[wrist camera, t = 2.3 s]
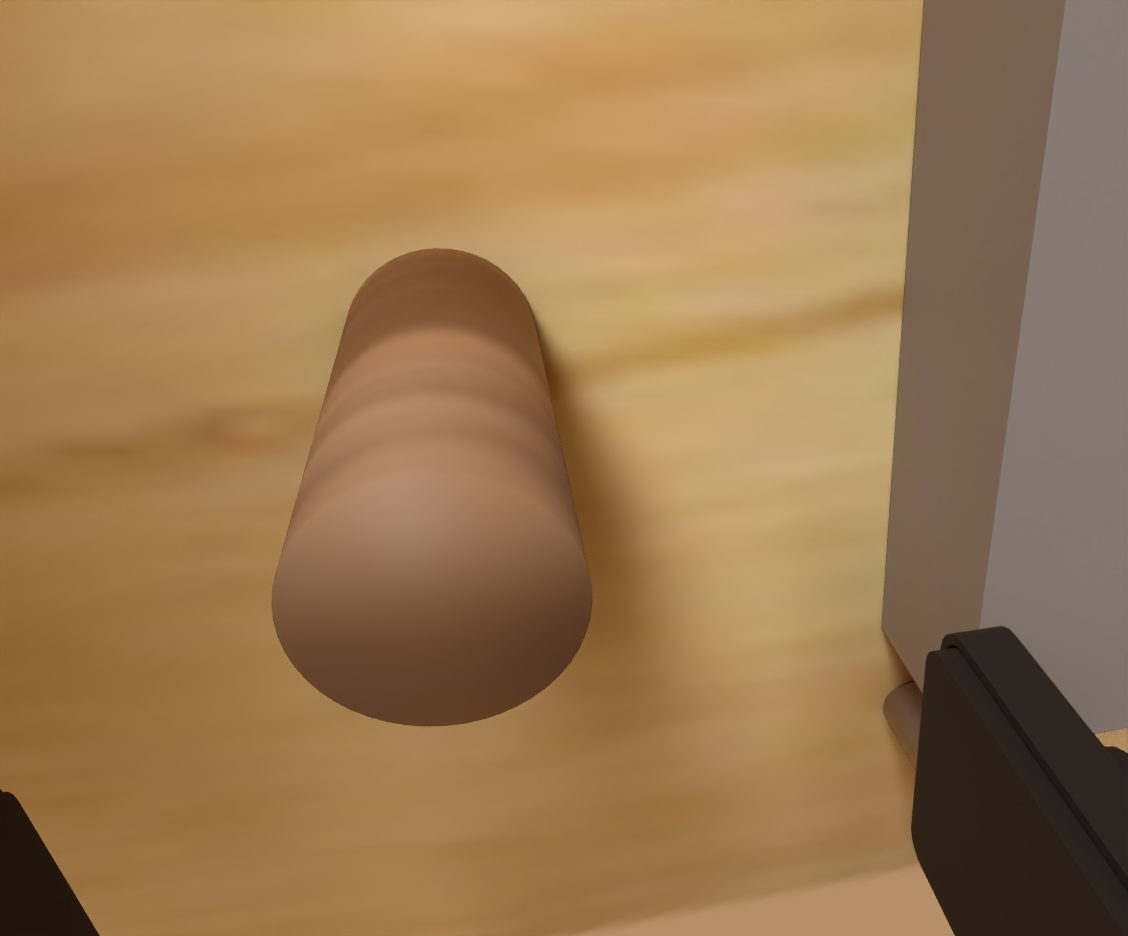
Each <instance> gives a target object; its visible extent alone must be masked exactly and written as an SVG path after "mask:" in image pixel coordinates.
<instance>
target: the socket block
mask: <svg viewBox="0 0 1128 936" xmlns="http://www.w3.org/2000/svg"><path fill="white" fill-rule="evenodd" d="M997 626H1004V627H1006V628H1009V629H1010V630H1011V631H1012V632H1013V633H1014V634H1015V635H1016V636H1017V638H1018V639H1019V640H1020V641H1021V643H1022V644H1023V645H1024V646H1025V648H1026V649H1027V650H1028V651H1029V653H1030V654H1031V655H1032V656H1033V658H1034V659H1035V660H1036V661H1037V663H1038V664H1039V665H1040V667H1041V668H1042V669H1043V670H1044V672H1045V673H1046V674H1047V675H1048V677H1049V678H1050V679H1051V680H1052V682H1053V683H1054V684H1055V685H1056V687H1057V688H1058V689H1059V690H1060V692H1061V693H1062V694H1063V695H1064V697H1065V698H1066V699H1067V701H1068V702H1069V703H1070V704H1071V706H1072V707H1073V708H1074V709H1075V711H1076V712H1077V713H1078V714H1079V716H1080V717H1081V718H1082V719H1083V721H1084V722H1085V723H1086V724H1087V726H1088V727H1089V728H1090V729H1091V731H1092V732H1093V733H1094V734H1095V733H1100V732H1106V731H1112V730H1118V729H1124V728H1128V0H924V9H923V24H922V39H921V54H920V68H919V83H918V98H917V113H916V128H915V142H914V157H913V172H912V187H911V202H910V216H909V231H908V246H907V261H906V275H905V290H904V305H903V320H902V335H901V349H900V364H899V379H898V394H897V409H896V423H895V438H894V453H893V468H892V482H891V497H890V512H889V527H888V542H887V556H886V571H885V586H884V601H883V616H882V629H883V631H884V633H885V634H886V636H887V637H888V639H889V641H890V642H891V644H892V645H893V647H894V649H895V650H896V652H897V654H898V655H899V657H900V658H901V660H902V662H903V663H904V665H905V666H906V668H907V670H908V671H909V673H910V674H911V676H912V678H913V679H914V681H915V682H916V684H917V686H918V687H919V689H920V690H921V692H922V694H923V686H924V674H925V663H926V657H927V655H928V653H929V652H931V651H936V650H940V648H941V643H942V640H943V638H944V637H945V635H947V634H951V633H958V632H964V631H971V630H978V629H984V628H991V627H997Z"/></svg>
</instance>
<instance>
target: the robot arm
mask: <svg viewBox="0 0 1128 936" xmlns="http://www.w3.org/2000/svg"><path fill="white" fill-rule="evenodd" d="M911 832H912V840H913V844H914V848H915V852H916V855H917V858H918V860H919V863H920V865H921V867H922V869H923V871H924V873H925V875H926V877H927V879H928V882H929V883H930V886H931V888H932V890H933V891H934V894H935V896H936V898H937V900H938V902H939V904H940V906H941V908H942V910H943V912H944V914H945V916H946V918H947V921H948V923H949V925H950V927H951V929H952V931H953V933H954V935H955V936H1128V753H1126V752H1124V751H1122V750H1120V749H1119V748H1117V747H1104V746H1103V745H1102V743H1101V742H1100V741H1099V740H1098V738H1097V737H1096V736H1095V735H1094V733H1093V732H1092V731H1091V729H1090V728H1089V727H1088V726H1087V724H1086V723H1085V722H1084V721H1083V719H1082V718H1081V717H1080V716H1079V714H1078V713H1077V712H1076V711H1075V709H1074V708H1073V707H1072V706H1071V704H1070V703H1069V702H1068V701H1067V699H1066V698H1065V697H1064V695H1063V694H1062V693H1061V692H1060V690H1059V689H1058V688H1057V687H1056V685H1055V684H1054V683H1053V682H1052V680H1051V679H1050V678H1049V677H1048V675H1047V674H1046V673H1045V672H1044V670H1043V669H1042V668H1041V667H1040V665H1039V664H1038V663H1037V661H1036V660H1035V659H1034V658H1033V656H1032V655H1031V654H1030V653H1029V651H1028V650H1027V649H1026V648H1025V646H1024V645H1023V644H1022V643H1021V641H1020V640H1019V639H1018V638H1017V636H1016V635H1015V634H1014V633H1013V632H1012V631H1011V630H1010V629H1009V628H1006V627H1004V626H997V627H991V628H984V629H978V630H971V631H964V632H958V633H951V634H947V635H945V637H944V638H943V640H942V643H941V648H940V650H936V651H931V652H929V653H928V655H927V657H926V663H925V674H924V686H923V697H922V708H921V720H920V731H919V743H918V754H917V766H916V777H915V789H914V800H913V811H912V823H911ZM0 936H99V934H98V932H97V931H96V929H95V927H94V926H93V924H92V922H91V921H90V919H89V917H88V916H87V914H86V912H85V911H84V909H83V907H82V906H81V904H80V902H79V901H78V899H77V897H76V896H75V894H74V892H73V891H72V889H71V887H70V886H69V884H68V883H67V881H66V879H65V878H64V876H63V874H62V873H61V871H60V869H59V868H58V866H57V864H56V863H55V861H54V859H53V858H52V856H51V854H50V853H49V851H48V849H47V848H46V846H45V844H44V843H43V841H42V839H41V838H40V836H39V834H38V833H37V831H36V829H35V828H34V826H33V824H32V823H31V821H30V819H29V818H28V816H27V814H26V813H25V811H24V810H23V808H22V806H21V805H20V803H19V801H18V800H17V798H16V797H15V796H14V795H13V794H11V793H9V792H2V791H1V789H0Z"/></svg>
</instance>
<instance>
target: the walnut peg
mask: <svg viewBox="0 0 1128 936" xmlns="http://www.w3.org/2000/svg"><path fill="white" fill-rule="evenodd" d="M591 608H592V589H591V581H590V577H589V572H588V567H587V563H586V558H585V553H584V549H583V544H582V539H581V535H580V530H579V525H578V521H577V516H576V512H575V507H574V502H573V498H572V493H571V488H570V484H569V479H568V474H567V470H566V465H565V460H564V456H563V451H562V446H561V442H560V437H559V432H558V428H557V423H556V418H555V414H554V409H553V404H552V400H551V395H550V390H549V386H548V381H547V376H546V372H545V367H544V362H543V358H542V353H541V349H540V344H539V339H538V335H537V330H536V325H535V321H534V316H533V313H532V311H531V308H530V305H529V303H528V301H527V300H526V298H525V296H524V294H523V293H522V291H521V290H520V288H519V287H518V286H517V284H516V283H515V282H514V281H513V280H512V279H511V278H510V277H509V276H508V275H507V274H506V273H505V272H503V271H502V270H501V269H500V268H498V267H497V266H495V265H494V264H492V263H490V262H489V261H487V260H485V259H483V258H481V257H478V256H476V255H473V254H470V253H467V252H463V251H458V250H452V249H437V248H436V249H425V250H419V251H415V252H410V253H408V254H405V255H402V256H399V257H397V258H395V259H393V260H391V261H389V262H388V263H386V264H385V265H383V266H382V267H380V268H379V269H378V270H376V271H375V272H374V273H373V274H372V275H371V276H370V277H369V278H368V279H367V280H366V281H365V283H364V284H363V285H362V286H361V288H360V289H359V291H358V292H357V294H356V296H355V298H354V299H353V302H352V304H351V307H350V309H349V313H348V316H347V320H346V323H345V327H344V330H343V334H342V338H341V341H340V345H339V348H338V352H337V356H336V359H335V363H334V366H333V370H332V373H331V377H330V381H329V384H328V388H327V391H326V395H325V399H324V402H323V406H322V409H321V413H320V416H319V420H318V424H317V427H316V431H315V434H314V438H313V442H312V445H311V449H310V452H309V456H308V459H307V463H306V467H305V470H304V474H303V477H302V481H301V485H300V488H299V492H298V495H297V499H296V502H295V506H294V510H293V513H292V517H291V520H290V524H289V528H288V531H287V535H286V538H285V542H284V545H283V549H282V553H281V556H280V560H279V563H278V567H277V571H276V575H275V579H274V583H273V589H272V613H273V621H274V625H275V628H276V632H277V636H278V638H279V640H280V643H281V645H282V647H283V649H284V651H285V653H286V655H287V656H288V658H289V659H290V661H291V662H292V664H293V665H294V667H295V668H296V669H297V670H298V671H299V672H300V673H301V675H302V676H303V677H304V678H305V679H306V680H307V681H308V682H309V683H310V684H312V685H313V686H314V687H315V688H316V689H317V690H319V691H320V692H321V693H323V694H324V695H326V696H327V697H329V698H330V699H332V700H333V701H335V702H337V703H339V704H340V705H342V706H344V707H346V708H348V709H350V710H352V711H355V712H358V713H360V714H363V715H365V716H368V717H371V718H375V719H379V720H382V721H386V722H391V723H397V724H403V725H413V726H448V725H456V724H464V723H469V722H473V721H478V720H482V719H485V718H488V717H492V716H495V715H498V714H501V713H503V712H505V711H507V710H510V709H512V708H514V707H517V706H518V705H520V704H522V703H524V702H525V701H527V700H529V699H531V698H532V697H534V696H535V695H537V694H538V693H539V692H541V691H542V690H543V689H545V688H546V687H547V686H549V685H550V684H551V683H552V682H553V681H554V680H555V679H556V678H557V677H558V676H559V675H560V674H561V673H562V672H563V671H564V669H565V668H566V667H567V666H568V665H569V663H570V662H571V661H572V659H573V657H574V656H575V654H576V653H577V651H578V650H579V648H580V646H581V643H582V641H583V639H584V637H585V634H586V632H587V628H588V624H589V621H590V617H591Z"/></svg>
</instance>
